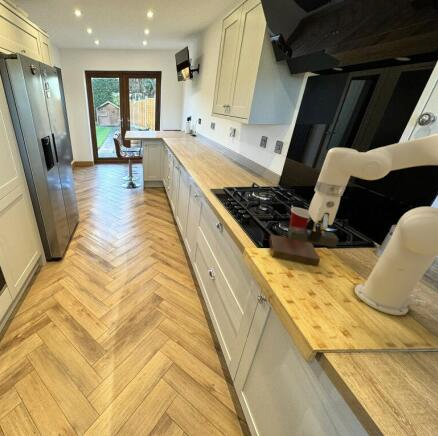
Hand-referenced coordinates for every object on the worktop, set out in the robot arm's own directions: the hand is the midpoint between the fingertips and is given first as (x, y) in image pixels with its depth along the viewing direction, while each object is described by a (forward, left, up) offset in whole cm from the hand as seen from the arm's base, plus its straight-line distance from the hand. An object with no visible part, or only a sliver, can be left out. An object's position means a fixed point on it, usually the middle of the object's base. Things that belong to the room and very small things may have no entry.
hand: (310, 236), depth 83 cm
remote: (0, 0, -1) cm, 1 cm away
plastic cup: (-4, -29, -14) cm, 32 cm away
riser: (+1, -11, -14) cm, 17 cm away
